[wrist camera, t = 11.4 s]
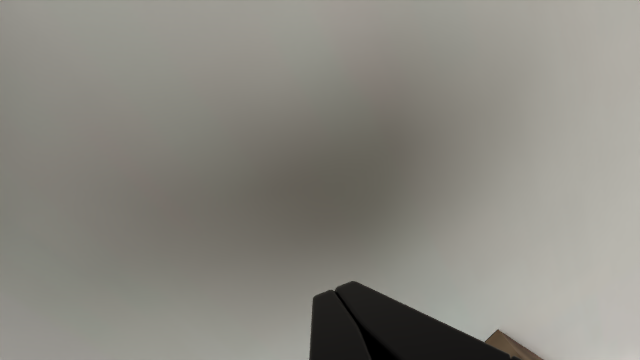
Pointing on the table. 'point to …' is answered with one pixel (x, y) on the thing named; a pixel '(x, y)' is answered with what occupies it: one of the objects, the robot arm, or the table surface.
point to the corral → (510, 346)
